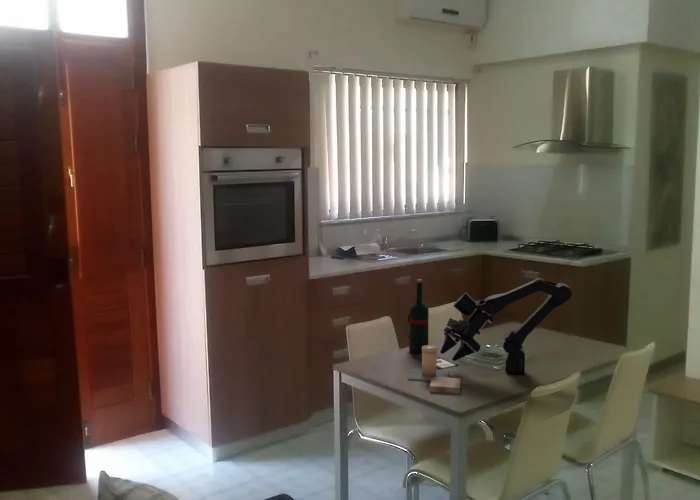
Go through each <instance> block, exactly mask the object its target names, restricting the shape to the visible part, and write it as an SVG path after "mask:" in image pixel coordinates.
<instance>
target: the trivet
mask: <svg viewBox="0 0 700 500" xmlns="http://www.w3.org/2000/svg"><path fill="white" fill-rule="evenodd" d="M461 383H462V381H461V377H459V378H458V377H448V378H446V377H432V378H431V381H430V383H429V392H430V393H444V394H461V386H462V385H461Z"/></svg>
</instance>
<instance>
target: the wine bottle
mask: <svg viewBox="0 0 700 500" xmlns="http://www.w3.org/2000/svg"><path fill="white" fill-rule="evenodd" d="M429 312H430V311H429V307H428V306H427V304H426V303H425V302H423V279H421V278H418V279H416V302H414V303H412V304H411V306H410V308H409V313H408V314H407V322H408V324H409V328H408V329H409V333H408V336H407V339H409V341H408V353H409V354H411V355H419V354H422V346H426V345H429V317H430V314H429Z"/></svg>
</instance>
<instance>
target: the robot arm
mask: <svg viewBox="0 0 700 500" xmlns="http://www.w3.org/2000/svg"><path fill="white" fill-rule="evenodd" d="M536 292H543V293H545V294H548V296H547V297H546V299H545V300H544V302H543V303H542V304H541V305H540V306H539V307H537V309H535V311H534V312H532V314H531V315H530V316H529V317H528V318H527V319H526V320H525V321H523V323H522V324H521V325H520V326H519V327H517V328H515V329H514V328H513V327H510V328H509V330H508V331H507V332H506V333H504V334H503V339H502V347H503V350H504V351H505V352H506V353H507V354H506V357H505V359H504V371H506V374H507V375H519V376H520V375H524V376H525V375H526V370H525V369H526V356H525V355H526V352H525V347H524V346H523V344H524V342H525V341H526V338H527V337H528V336H529V334H531V333H532V331H534V330H535V329H536V327H538V325H539V324H541V323H542V322H543V321H544V320H545V319H546V318H547V317H548V316H549V315H550V314H551V313H552V312H553V311H554V310H555V309H557V308H559V307H561V306H562V305H563V304H565V303H567V302H568V301H569V300H570V299H571V298H572V296H573V292H572V290H571V288H570V286H568V284H566V283H565V282H564V283H563V282H558V283H557V282H553V281H550V280H545V279H543V278H541V277H537V278H534V279H533V280H531V281H529V282H526V283H525V284H523V285H520V286H518V287H515V288H513V289H511V290H509V291H506V292H504V293H497V294H493V295H489V296H487V297H486V298H484V299H481V300H474V298H472V297H471V295H469V294H468V293H467V292H464V293H463V294H462V295H461V296H460V297H458V299H456V301H455V302H454V303H453V305H452V307H454V308H455V309H456V310H457V311H458V312H459V313H460V314H462V316H464V317H465V316H466V317H468V319H467V320H462V319H459V320H456V319H454V318H452V317H449V319H448V321H447V324H446V326H445V328H444V329H443V334H444V338H445V339H444V341H443V344H442V347H441V349H440V354H441V355H444V354H445V353H447V352H448V351H450V350H451V349H452V348H454V347H456V346H457V345H458V342H460V346H459V348H458V350H457V351H456V352H455V354H454V355H453V357H452V359H451V360H452V362H453V361H454V362H455V361H457V360H461V358H462V359H463V358H464V357H466V356H469V355H472V354H475V353H478V352H480V351H481V344H480V343H479V342H478V341H477V340H476V339H475V337H476V335H481V332H480V331H481V329H482V328H483V327H484V326H485V325H486V324H487V322H488V323H489V324H492V323H495V321H494V315H496V314H498V313H499V312H501V311H502V310H503V309H505V308H506V307H507V306H508V305H510V304H512V303H514V302H516V301H518V300H521V299H524V298H525V297H528V296H530V295H532V294H535V293H536Z"/></svg>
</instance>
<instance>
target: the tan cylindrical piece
mask: <svg viewBox="0 0 700 500" xmlns="http://www.w3.org/2000/svg"><path fill="white" fill-rule="evenodd" d="M437 356H438V346H436V345H432V344H431V345H430V344H428V345H426V346H422V362H421V369H422V375H423V376H428V377H432V376H436V370H437V368H436V366H437Z"/></svg>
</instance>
